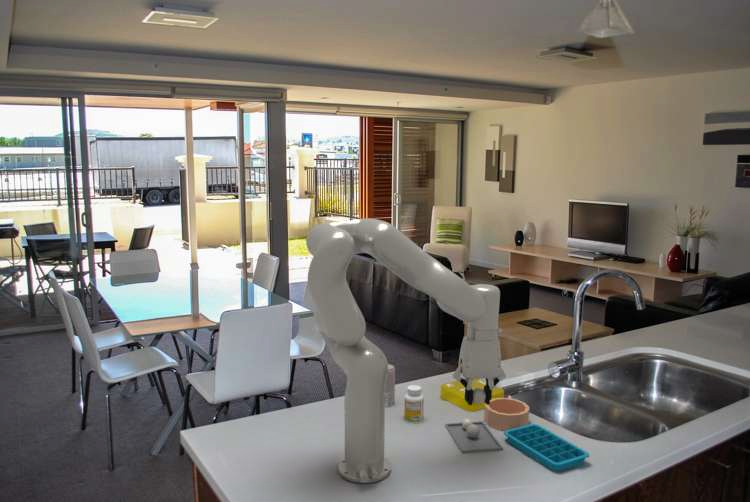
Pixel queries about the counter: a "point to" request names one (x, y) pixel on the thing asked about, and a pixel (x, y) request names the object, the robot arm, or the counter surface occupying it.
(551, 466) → the ice cube tray
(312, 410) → the counter surface
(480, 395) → the pebble
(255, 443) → the counter surface
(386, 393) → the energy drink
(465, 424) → the pebble
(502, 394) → the element tile
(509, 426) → the bowl
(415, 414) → the supplement bottle
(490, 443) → the parts tray
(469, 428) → the pebble
